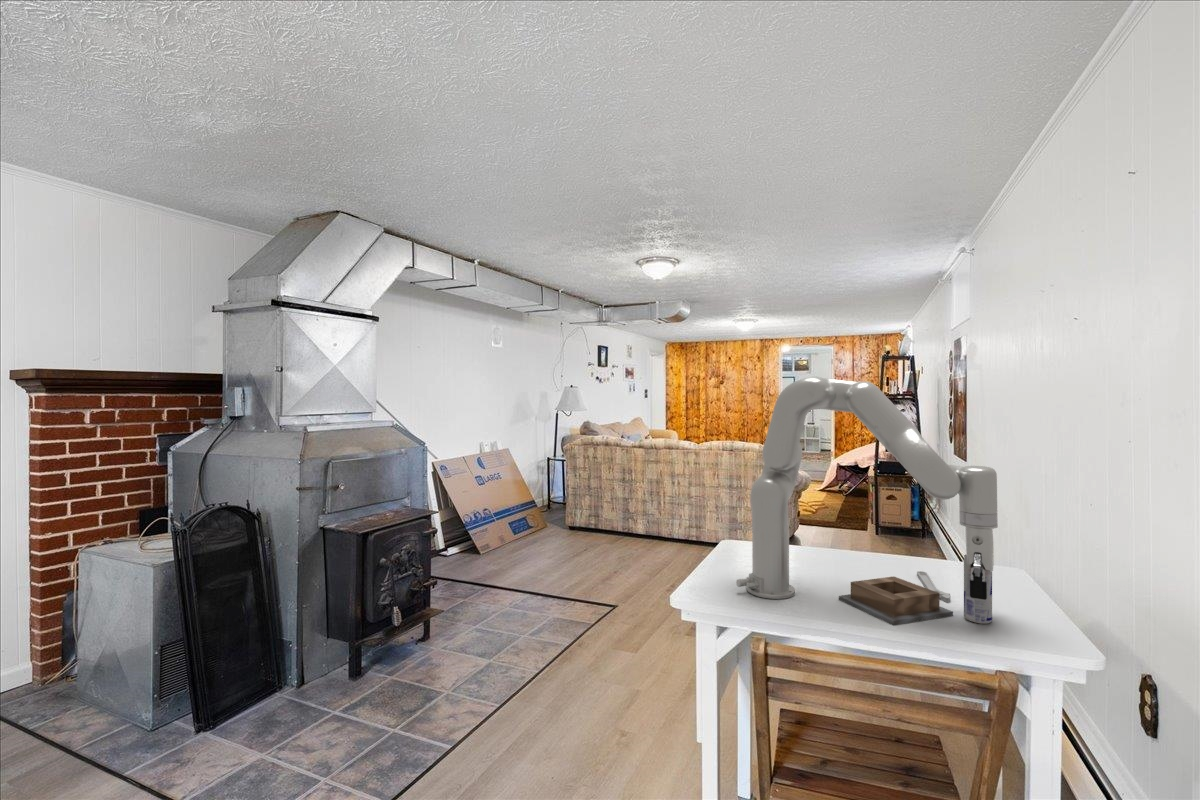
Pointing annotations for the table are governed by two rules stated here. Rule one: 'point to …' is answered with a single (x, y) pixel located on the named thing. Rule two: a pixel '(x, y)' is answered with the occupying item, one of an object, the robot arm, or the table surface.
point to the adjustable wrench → (932, 586)
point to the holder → (895, 600)
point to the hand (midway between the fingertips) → (979, 592)
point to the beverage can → (976, 607)
